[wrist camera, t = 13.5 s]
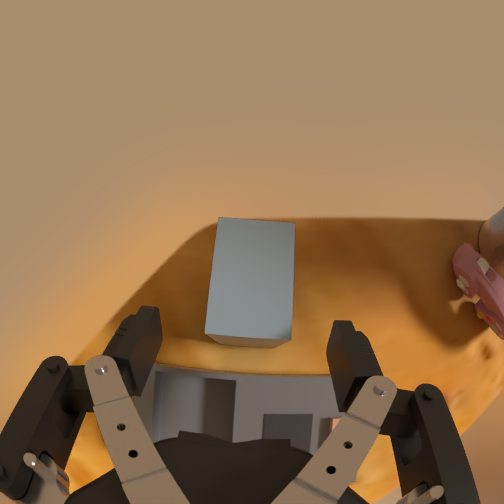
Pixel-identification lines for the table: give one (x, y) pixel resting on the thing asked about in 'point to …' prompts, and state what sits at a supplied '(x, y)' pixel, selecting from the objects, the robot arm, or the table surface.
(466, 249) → the pink curved toy
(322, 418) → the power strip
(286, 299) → the block
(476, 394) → the table surface
